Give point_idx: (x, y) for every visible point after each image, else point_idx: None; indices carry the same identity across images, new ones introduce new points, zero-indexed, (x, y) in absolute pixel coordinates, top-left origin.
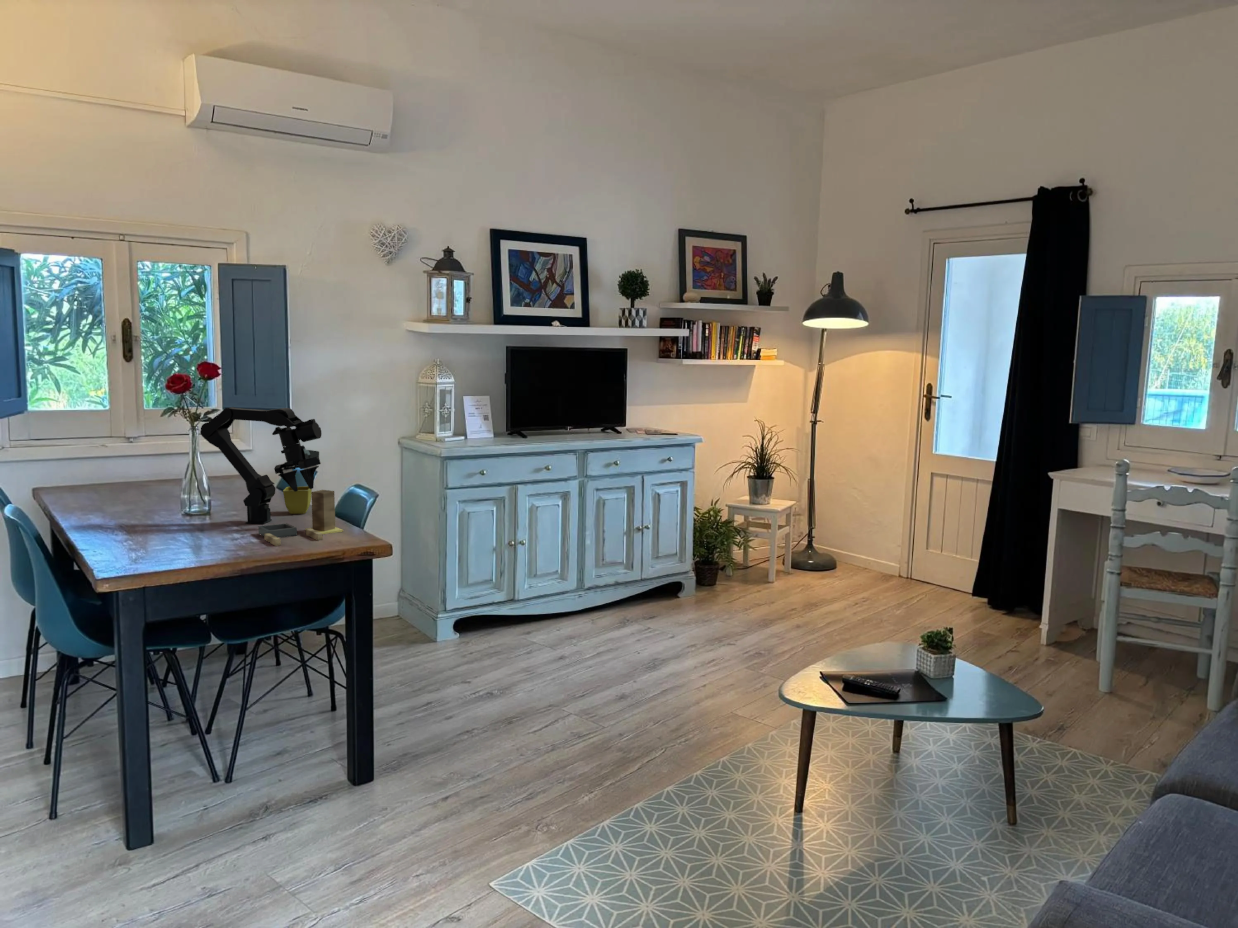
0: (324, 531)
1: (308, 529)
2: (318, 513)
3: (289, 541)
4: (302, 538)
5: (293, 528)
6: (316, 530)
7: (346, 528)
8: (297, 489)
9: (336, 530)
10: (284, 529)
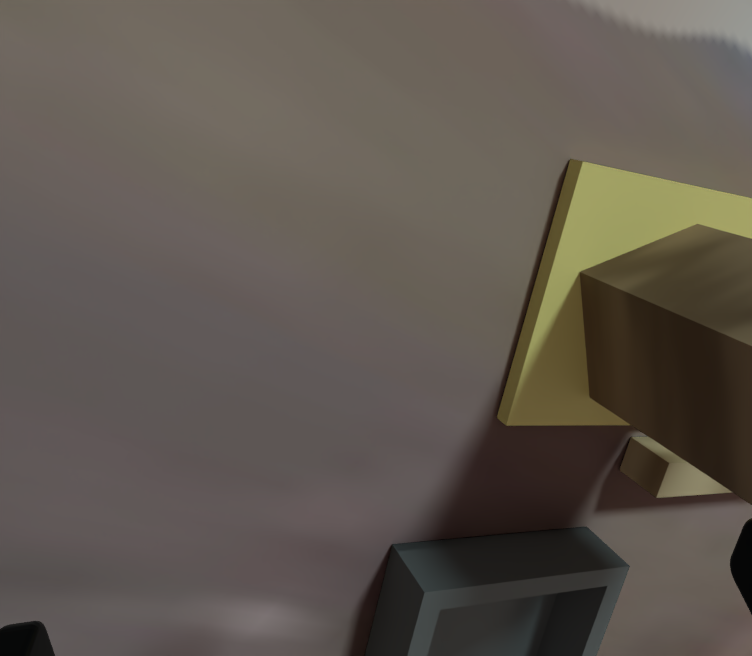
0: None
1: (687, 489)
2: None
3: (666, 602)
4: (672, 520)
5: (619, 586)
6: None
7: (705, 91)
8: (30, 652)
9: None
10: (598, 646)
